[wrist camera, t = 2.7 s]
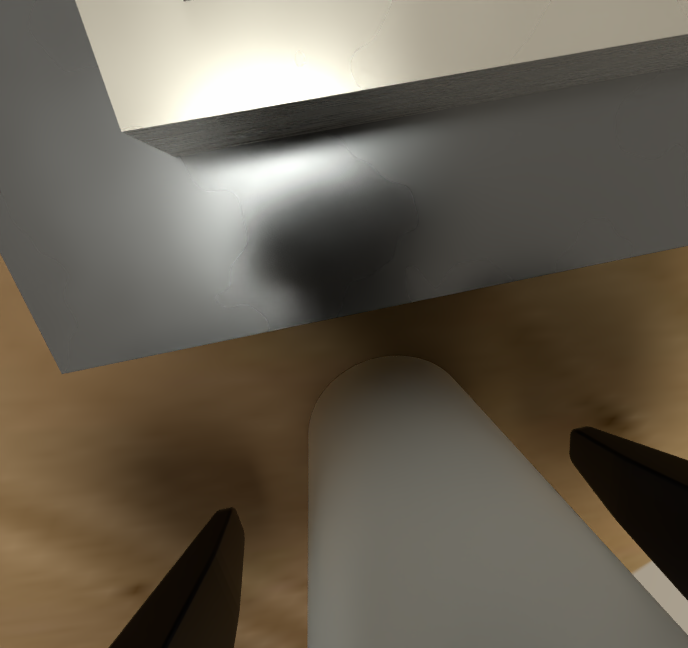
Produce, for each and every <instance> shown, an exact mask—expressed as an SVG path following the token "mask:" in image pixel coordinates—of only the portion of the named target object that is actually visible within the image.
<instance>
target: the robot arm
mask: <svg viewBox="0 0 688 648" xmlns="http://www.w3.org/2000/svg"><path fill="white" fill-rule="evenodd" d="M569 454H570V458H571V461H572V463H573V464H574V466H575V467H576V468H577V470H578V471H579V472H580V474H581V475H582V476H583V478H584V479H585V480H586V481H587V483H588V484H589V485H590V487H591V488H592V489H593V491H594V492H595V493H596V495H597V496H598V497H599V499H600V500H601V501H602V503H603V504H604V505H605V507H606V508H607V509H608V511H609V512H610V513H611V514H612V516H613V517H614V518H615V519H616V520H617V522H618V523H619V524H620V525H621V526H622V527H623V529H624V530H625V531H626V532H627V533H628V534H629V535H630V536H631V538H632V539H633V540H634V541H635V542H636V543H637V544H638V545H639V547H640V548H641V549H642V550H643V551H644V552H645V553H646V554H647V556H648V557H649V558H650V559H651V560H652V561H653V562H654V563H655V564H656V566H657V567H658V568H659V569H660V570H661V571H662V572H663V573H664V574H665V576H666V577H667V578H668V579H669V580H670V581H671V582H672V583H673V585H674V586H675V587H676V588H677V589H678V590H679V591H680V592H681V594H682V595H683V596H684V597H685V598H686V599H687V600H688V460H685V459H682V458H679V457H677V456H674V455H671V454H668V453H665V452H662V451H659V450H656V449H653V448H650V447H647V446H645V445H642V444H639V443H636V442H633V441H630V440H627V439H624V438H621V437H618V436H615V435H613V434H610V433H607V432H604V431H601V430H598V429H595V428H592V427H588V426H585V427H581V428H576V429H573V430H572V431H571V434H570V451H569ZM244 541H245V537H244V530H243V527H242V525H241V522H240V519H239V517H238V514H237V511H236V509H235V508H233V507H230V508H226V509H222V510H219V511H217V512H216V513H215V514H214V515H213V517H212V518H211V519H210V520H209V522H208V523H207V524H206V525H205V527H204V528H203V529H202V530H201V532H200V533H199V534H198V536H197V537H196V538H195V539H194V541H193V542H192V543H191V544H190V546H189V547H188V548H187V549H186V551H185V552H184V553H183V554H182V556H181V557H180V558H179V560H178V561H177V562H176V563H175V565H174V566H173V567H172V568H171V570H170V571H169V572H168V573H167V575H166V576H165V577H164V578H163V580H162V581H161V582H160V584H159V585H158V586H157V587H156V589H155V590H154V591H153V592H152V594H151V595H150V596H149V597H148V599H147V600H146V601H145V602H144V604H143V605H142V606H141V608H140V609H139V610H138V611H137V613H136V614H135V615H134V616H133V618H132V619H131V620H130V621H129V623H128V624H127V625H126V626H125V628H124V629H123V630H122V632H121V633H120V634H119V635H118V637H117V638H116V639H115V640H114V642H113V643H112V644H111V645H110V647H109V648H234V643H235V637H236V631H237V625H238V618H239V611H240V599H241V585H242V571H243V556H244Z"/></svg>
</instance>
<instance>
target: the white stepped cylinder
mask: <svg viewBox="0 0 688 648" xmlns="http://www.w3.org/2000/svg"><path fill="white" fill-rule="evenodd" d="M308 648H688V635H687V634H686V633H685V632H684V631H683V630H682V628H681V627H680V626H679V625H678V624H677V623H676V622H675V621H674V620H673V619H672V617H671V616H670V615H669V614H668V613H667V612H666V611H665V610H664V609H663V608H662V607H661V606H660V604H659V603H658V602H657V601H656V600H655V599H654V598H653V597H652V596H651V594H650V593H649V592H648V591H647V590H646V589H645V588H644V587H643V586H642V585H641V583H640V582H639V581H638V580H637V579H636V578H635V577H634V576H633V575H632V574H631V573H630V571H629V570H628V569H627V568H626V567H625V566H624V565H623V564H622V563H621V562H620V560H619V559H618V558H617V557H616V556H615V555H614V554H613V553H612V552H611V551H610V550H609V548H608V547H607V546H606V545H605V544H604V543H603V542H602V541H601V540H600V539H599V537H598V536H597V535H596V534H595V533H594V532H593V531H592V530H591V529H590V528H589V527H588V525H587V524H586V523H585V522H584V521H583V520H582V519H581V518H580V517H579V516H578V514H577V513H576V512H575V511H574V510H573V509H572V508H571V507H570V506H569V505H568V504H567V502H566V501H565V500H564V499H563V498H562V497H561V496H560V495H559V494H558V493H557V491H556V490H555V489H554V488H553V487H552V486H551V485H550V484H549V483H548V482H547V481H546V479H545V478H544V477H543V476H542V475H541V474H540V473H539V472H538V471H537V470H536V468H535V467H534V466H533V465H532V464H531V463H530V462H529V461H528V460H527V459H526V457H525V456H524V455H523V454H522V453H521V452H520V451H519V450H518V449H517V448H516V447H515V445H514V444H513V443H512V442H511V441H510V440H509V439H508V438H507V437H506V436H505V434H504V433H503V432H502V431H501V430H500V429H499V428H498V427H497V426H496V425H495V424H494V422H493V421H492V420H491V419H490V418H489V417H488V416H487V415H486V414H485V413H484V411H483V410H482V409H481V408H480V407H479V406H478V405H477V404H476V403H475V402H474V401H473V399H472V398H471V397H470V396H469V395H468V394H467V393H466V392H465V391H464V390H463V388H462V387H461V386H460V385H459V384H458V383H457V382H456V381H455V380H454V379H453V378H452V377H451V376H450V375H449V374H448V373H447V372H446V371H445V370H443V369H442V368H441V367H439V366H437V365H435V364H433V363H431V362H429V361H426V360H423V359H420V358H416V357H411V356H401V355H400V356H385V357H378V358H374V359H371V360H367V361H365V362H362V363H360V364H357V365H355V366H353V367H352V368H350V369H348V370H346V371H345V372H343V373H342V374H341V375H339V376H338V377H337V378H336V379H335V380H333V381H332V382H331V383H330V384H329V385H328V387H327V388H326V389H325V390H324V391H323V393H322V394H321V396H320V397H319V399H318V400H317V402H316V404H315V406H314V409H313V411H312V414H311V418H310V422H309V429H308Z"/></svg>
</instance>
